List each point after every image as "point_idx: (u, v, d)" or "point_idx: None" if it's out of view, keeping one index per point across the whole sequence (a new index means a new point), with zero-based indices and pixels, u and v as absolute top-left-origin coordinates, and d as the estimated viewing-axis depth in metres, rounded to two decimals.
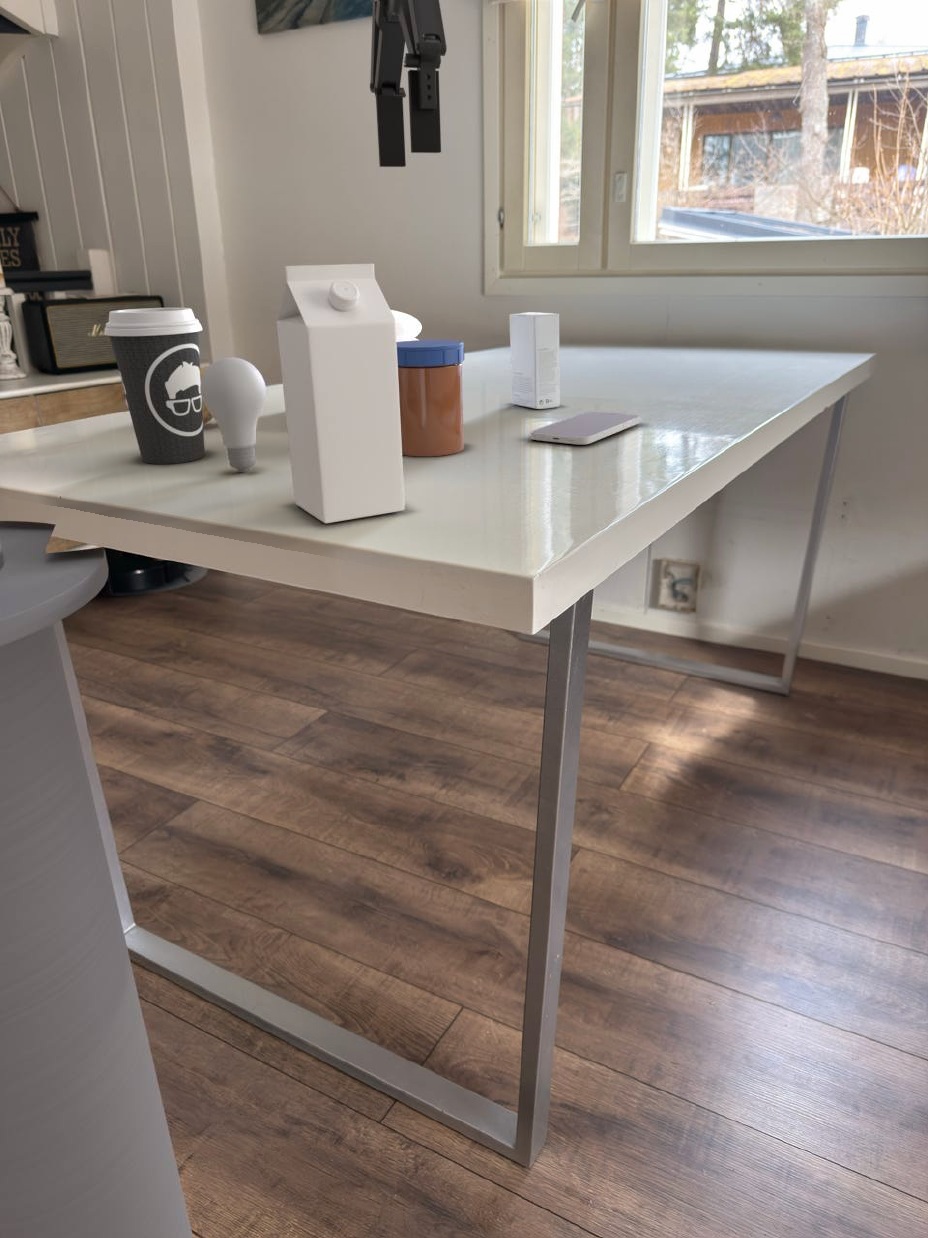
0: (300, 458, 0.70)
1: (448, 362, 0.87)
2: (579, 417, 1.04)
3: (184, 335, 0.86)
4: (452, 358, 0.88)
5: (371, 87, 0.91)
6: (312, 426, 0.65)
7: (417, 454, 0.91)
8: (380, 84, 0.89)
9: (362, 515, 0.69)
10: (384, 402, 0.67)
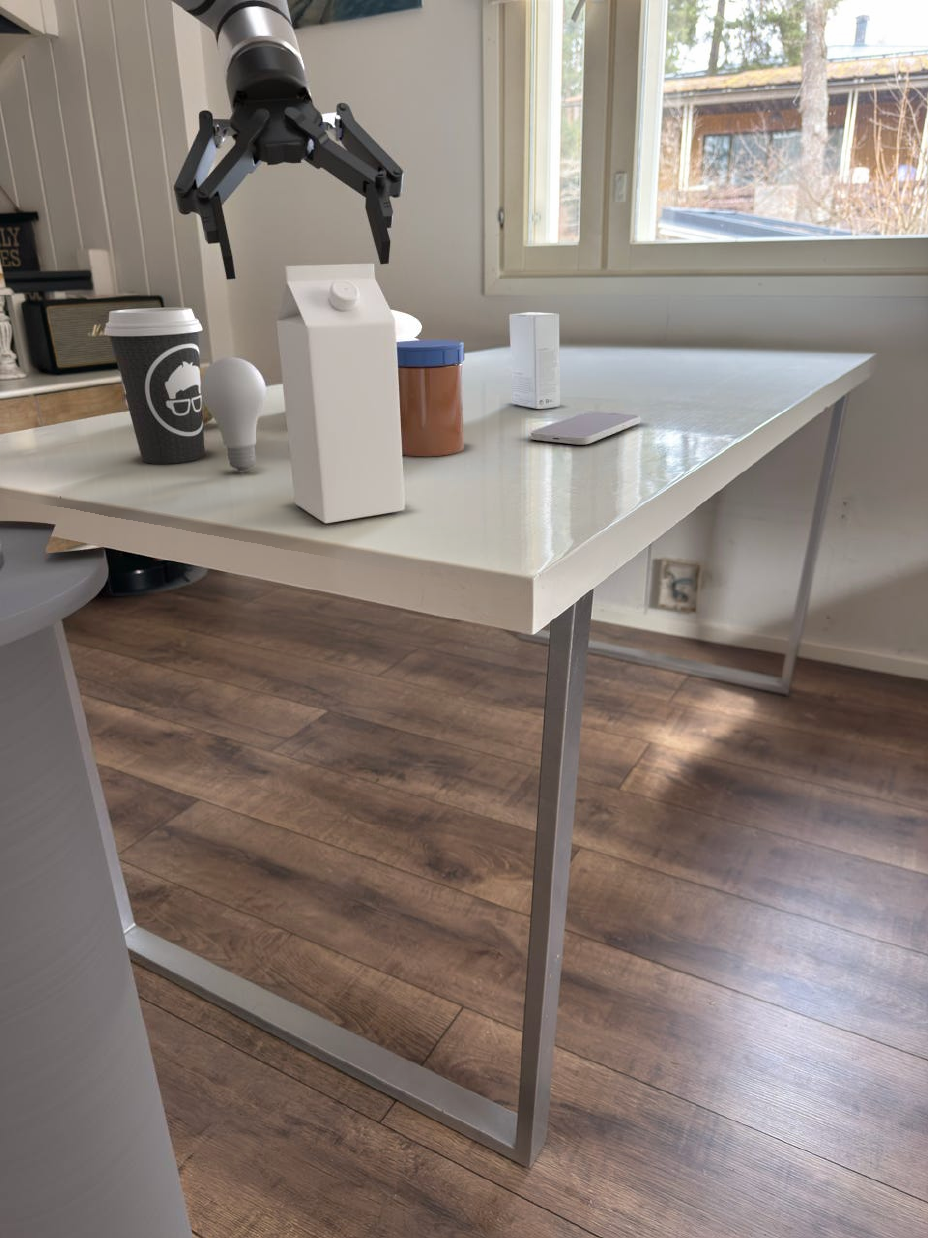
0: (300, 458, 0.70)
1: (448, 362, 0.87)
2: (579, 417, 1.04)
3: (184, 335, 0.86)
4: (452, 358, 0.88)
5: (184, 188, 0.74)
6: (312, 426, 0.65)
7: (417, 454, 0.91)
8: (216, 190, 0.75)
9: (362, 515, 0.69)
10: (384, 402, 0.67)
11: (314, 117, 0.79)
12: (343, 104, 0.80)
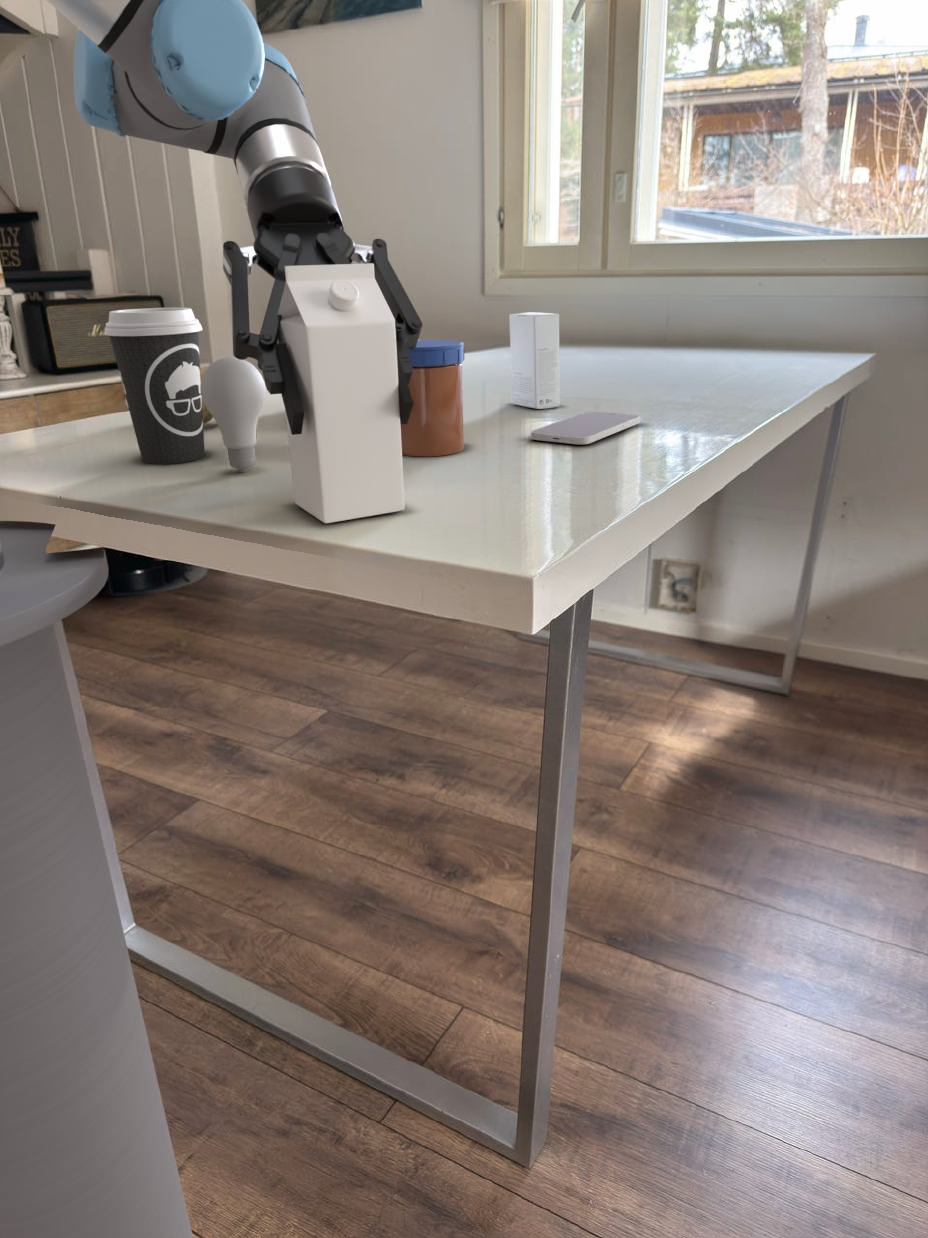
0: (300, 458, 0.70)
1: (448, 362, 0.87)
2: (579, 417, 1.04)
3: (184, 335, 0.86)
4: (452, 358, 0.88)
5: (246, 332, 0.66)
6: (312, 426, 0.65)
7: (417, 454, 0.91)
8: (277, 333, 0.67)
9: (362, 515, 0.69)
10: (384, 402, 0.67)
11: (347, 244, 0.72)
12: (381, 241, 0.73)
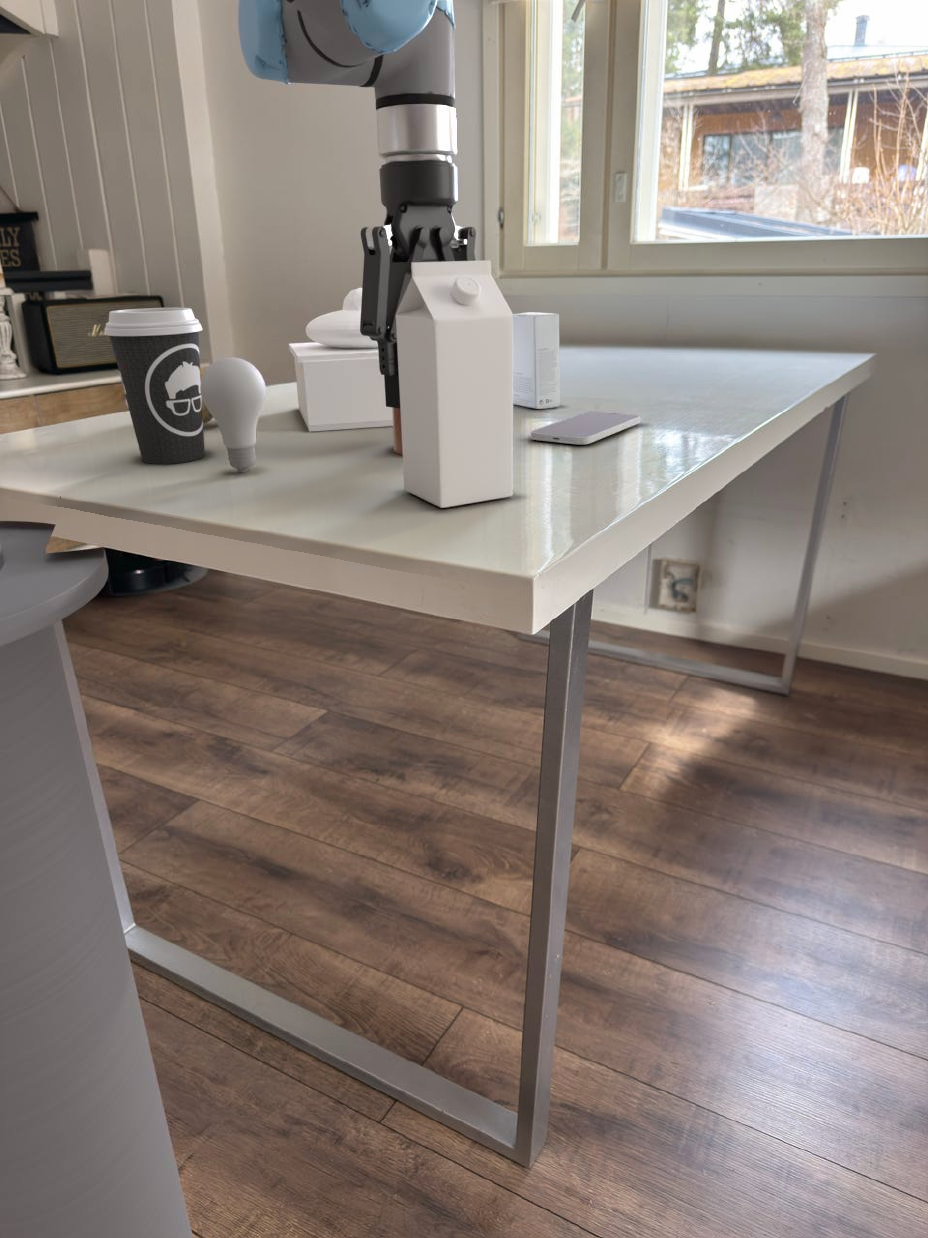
0: (415, 446, 0.73)
1: None
2: (579, 417, 1.04)
3: (184, 335, 0.86)
4: None
5: (383, 331, 0.84)
6: (433, 415, 0.69)
7: None
8: None
9: (474, 500, 0.73)
10: (499, 392, 0.70)
11: (452, 232, 0.87)
12: (473, 230, 0.89)
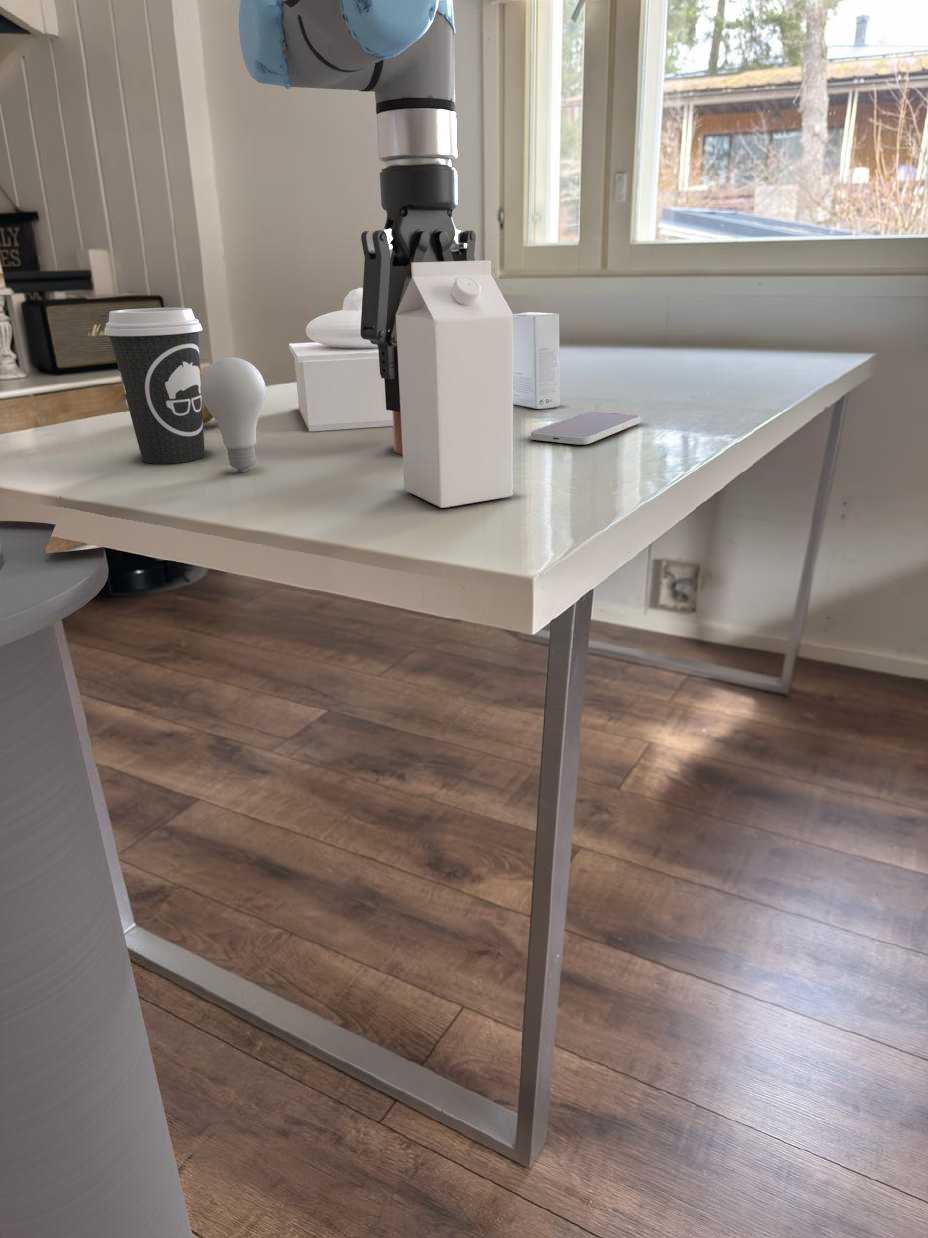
0: (415, 446, 0.73)
1: None
2: (579, 417, 1.04)
3: (184, 335, 0.86)
4: None
5: (384, 334, 0.84)
6: (433, 415, 0.69)
7: None
8: None
9: (474, 500, 0.73)
10: (499, 392, 0.70)
11: (452, 236, 0.87)
12: (473, 234, 0.89)
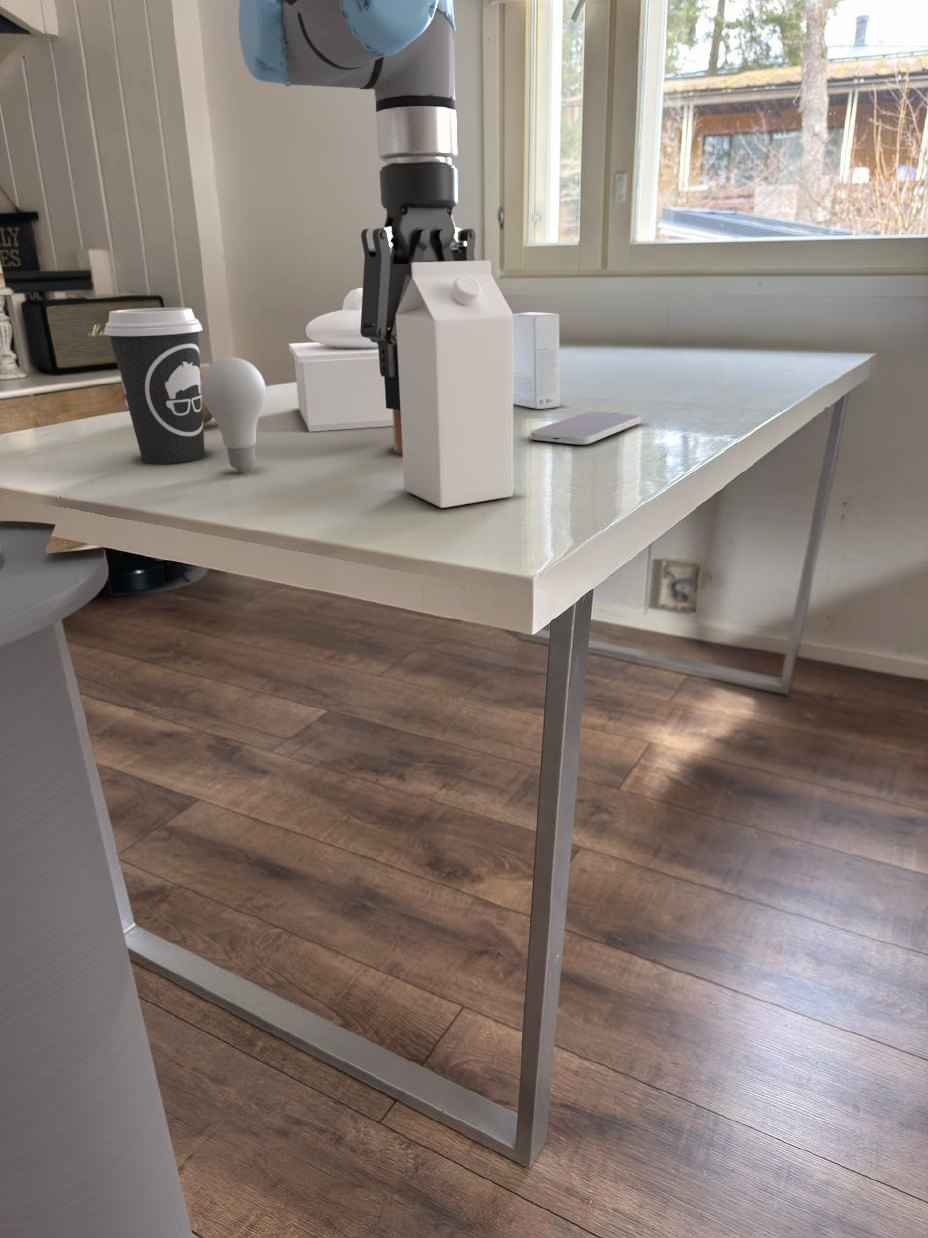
0: (415, 446, 0.73)
1: None
2: (579, 417, 1.04)
3: (184, 335, 0.86)
4: None
5: (384, 332, 0.84)
6: (433, 415, 0.69)
7: None
8: None
9: (474, 500, 0.73)
10: (499, 392, 0.70)
11: (452, 234, 0.87)
12: (473, 232, 0.89)
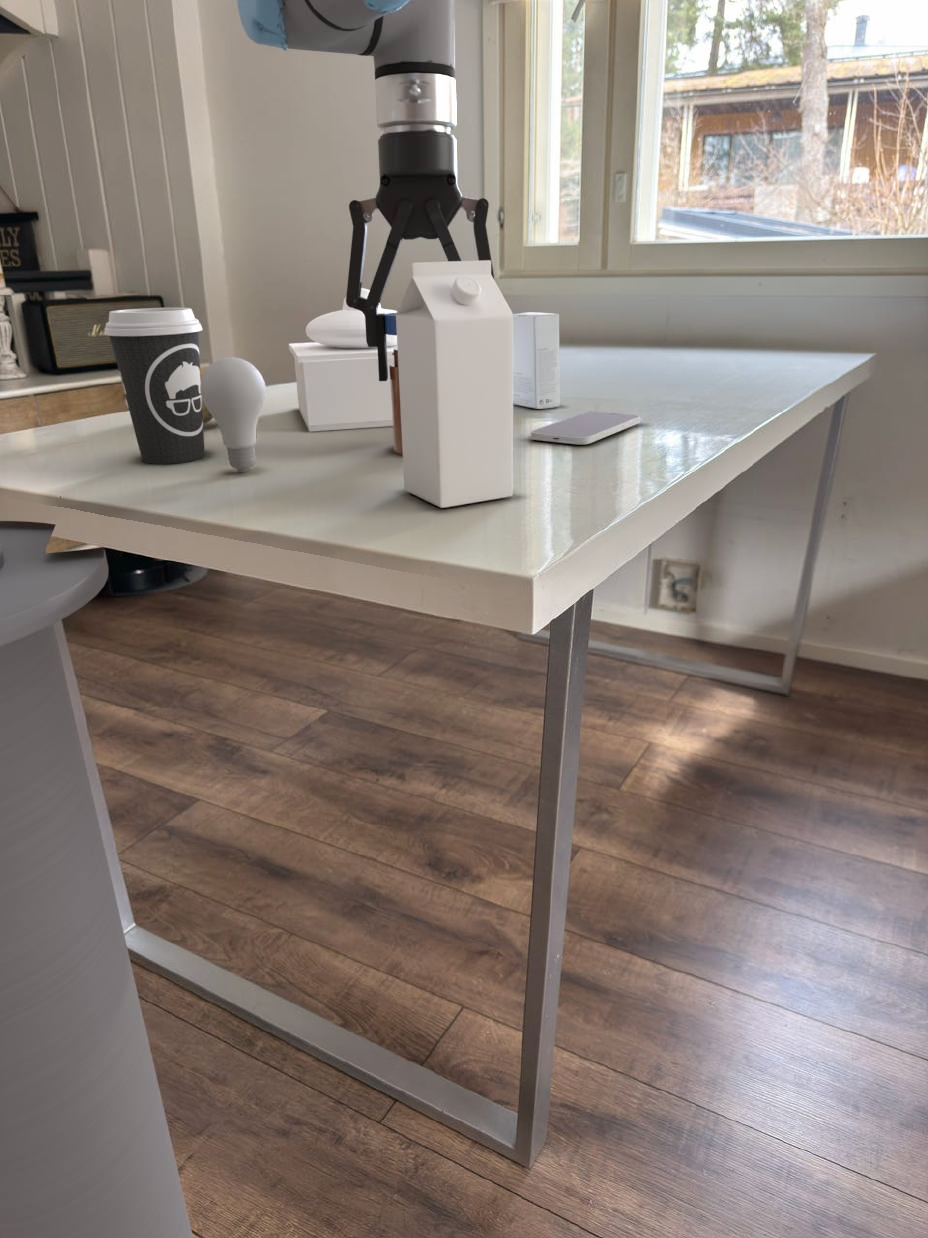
0: (415, 446, 0.73)
1: None
2: (579, 417, 1.04)
3: (184, 335, 0.86)
4: None
5: None
6: (433, 415, 0.69)
7: None
8: None
9: (474, 500, 0.73)
10: (499, 392, 0.70)
11: None
12: None
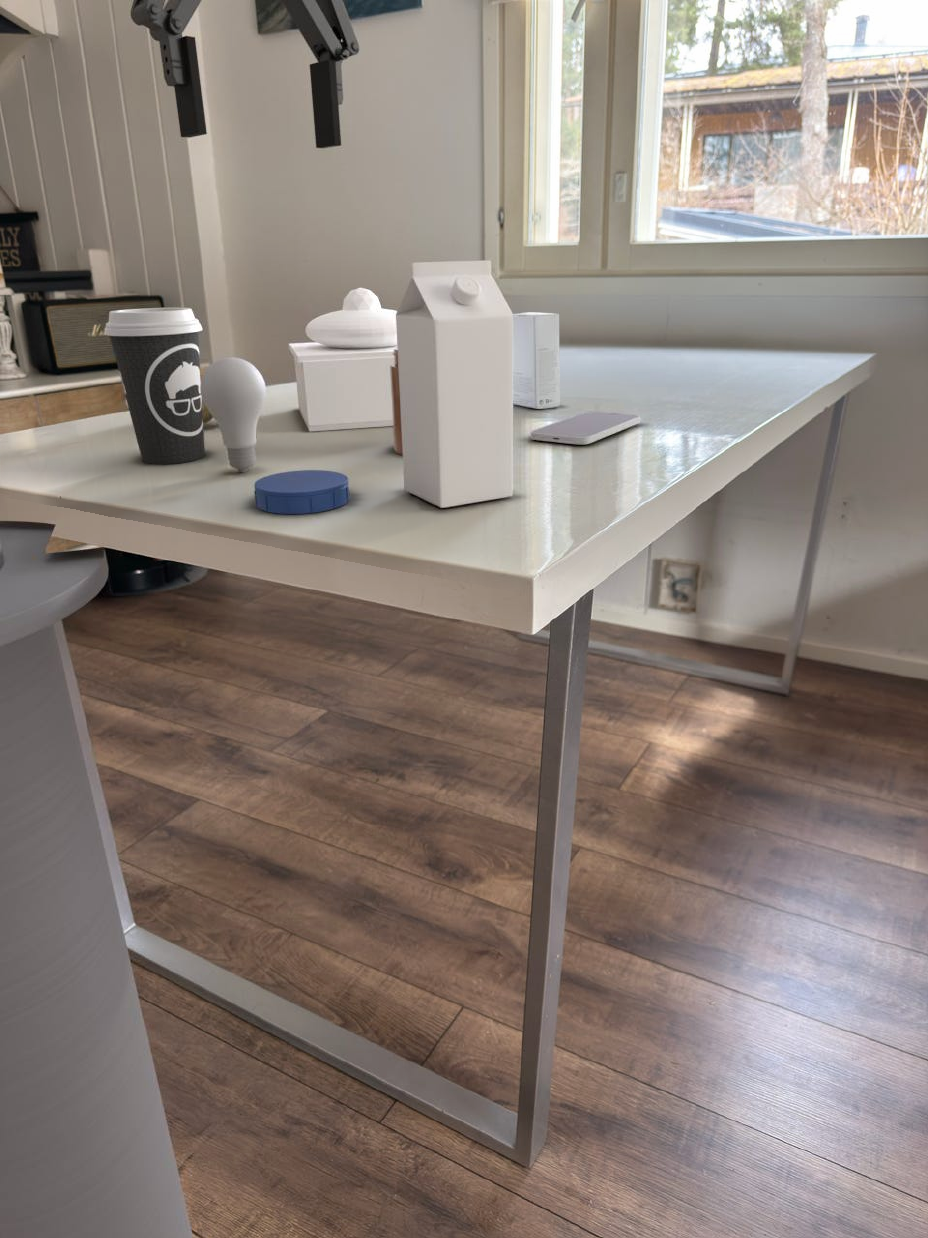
0: (415, 446, 0.73)
1: None
2: (579, 417, 1.04)
3: (184, 335, 0.86)
4: None
5: None
6: (433, 415, 0.69)
7: None
8: (313, 50, 0.75)
9: (474, 500, 0.73)
10: (499, 392, 0.70)
11: None
12: None
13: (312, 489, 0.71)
